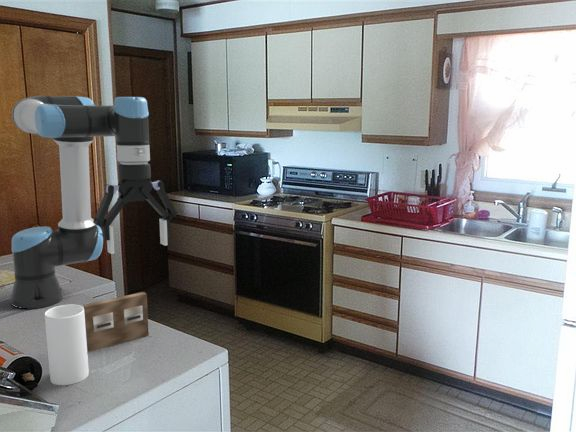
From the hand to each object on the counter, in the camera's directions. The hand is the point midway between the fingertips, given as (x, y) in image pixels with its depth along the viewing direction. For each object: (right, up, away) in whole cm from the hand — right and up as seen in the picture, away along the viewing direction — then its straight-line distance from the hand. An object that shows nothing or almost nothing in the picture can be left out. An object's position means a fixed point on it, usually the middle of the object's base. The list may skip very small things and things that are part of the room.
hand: (138, 248), depth 128 cm
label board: (-10, -25, +12) cm, 29 cm away
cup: (-13, -29, -9) cm, 33 cm away
